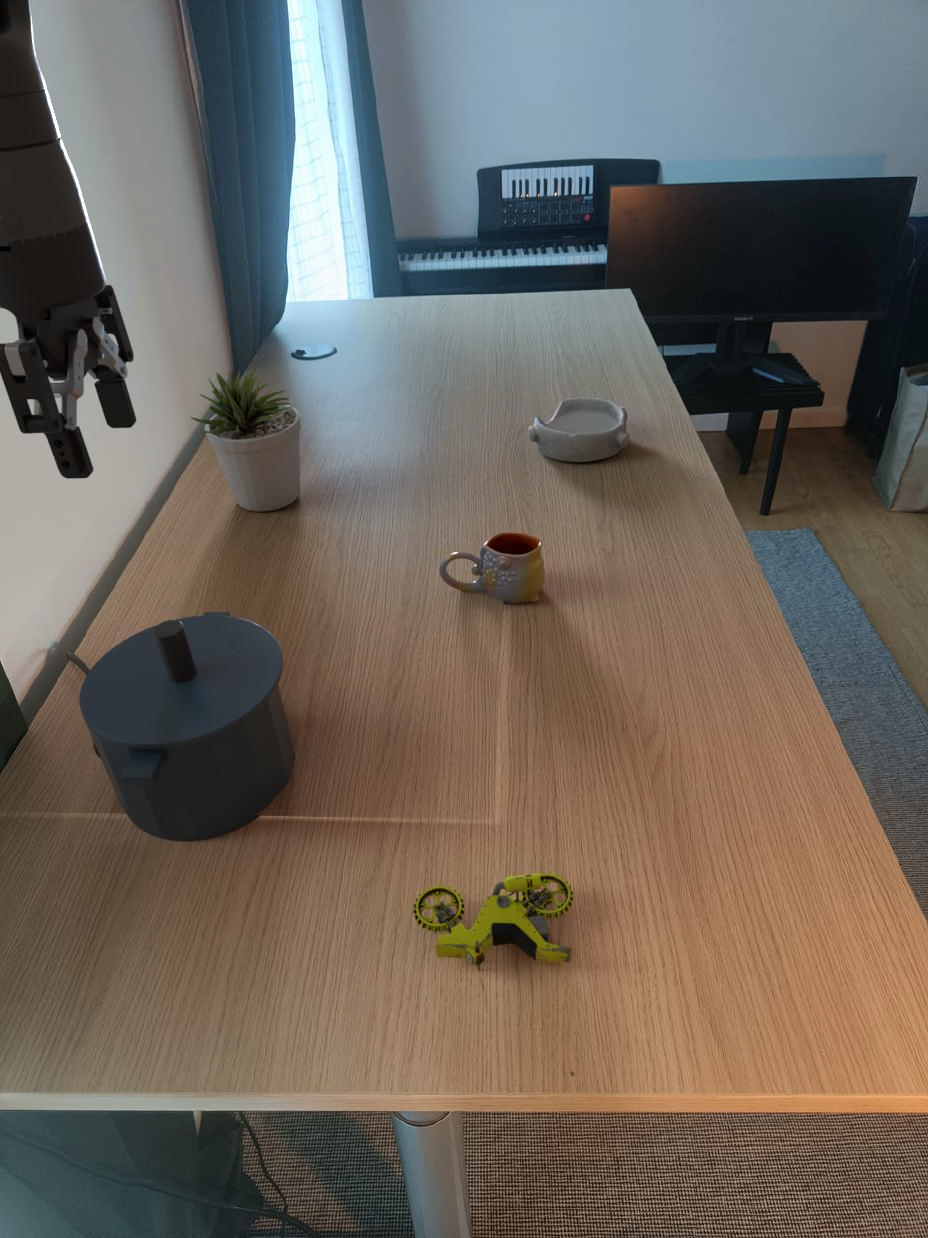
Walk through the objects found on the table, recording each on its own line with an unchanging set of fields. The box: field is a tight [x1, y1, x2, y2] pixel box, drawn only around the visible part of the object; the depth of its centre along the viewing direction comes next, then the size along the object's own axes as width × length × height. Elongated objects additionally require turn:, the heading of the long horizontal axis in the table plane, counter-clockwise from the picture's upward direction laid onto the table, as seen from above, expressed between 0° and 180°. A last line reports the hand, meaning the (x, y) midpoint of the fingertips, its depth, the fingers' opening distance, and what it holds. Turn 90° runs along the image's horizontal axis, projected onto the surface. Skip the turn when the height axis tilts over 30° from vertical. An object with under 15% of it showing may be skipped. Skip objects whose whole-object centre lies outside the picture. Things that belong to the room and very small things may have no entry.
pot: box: [82, 611, 296, 842], centre depth 77 cm, size 16×21×12 cm
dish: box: [527, 397, 630, 463], centre depth 129 cm, size 14×14×5 cm
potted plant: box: [189, 366, 302, 513], centre depth 116 cm, size 13×14×20 cm
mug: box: [438, 531, 546, 605], centre depth 99 cm, size 12×7×7 cm, turn 90°
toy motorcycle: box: [412, 871, 574, 972], centre depth 64 cm, size 12×4×7 cm
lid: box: [78, 614, 284, 749], centre depth 72 cm, size 17×17×6 cm
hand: (101, 450), depth 66 cm, fingers open, 8 cm apart
